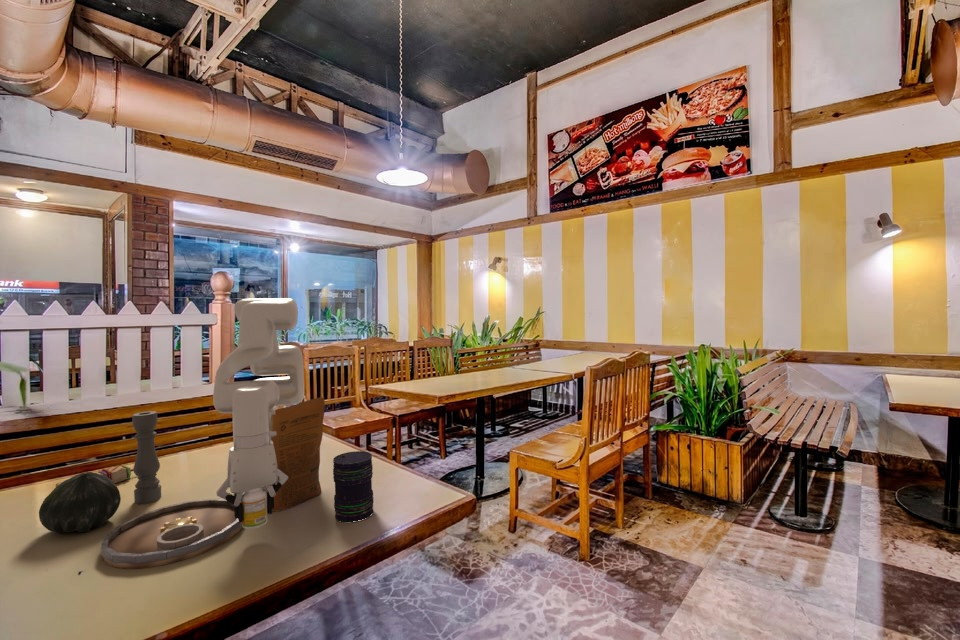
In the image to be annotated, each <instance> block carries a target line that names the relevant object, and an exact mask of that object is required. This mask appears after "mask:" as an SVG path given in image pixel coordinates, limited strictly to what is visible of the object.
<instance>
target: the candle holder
mask: <svg viewBox="0 0 960 640" xmlns="http://www.w3.org/2000/svg"><path fill="white" fill-rule="evenodd" d="M131 417H132V427H133V429H134V430H135V432H136V434H135V435H134V436H133V438H134V439H135V440H136V442H137V443H136V444H137V453H136V457H135V461H134V464H133V468H132V469H133V471H132V472H133V473H134V474H135V476H136V477H137V482H136V484H134V487H135V489H134V490H133V499H134V501H133V502H134V504H135V505H147V504H151V503H154V502H157V501H158V500H160V499H162V485H161V484H159V483H161V480H160V479H159V478H158V477H157V475H158V472H159V470H160V468H161V464H160V460H159V457H158V455H157V452H156V449H155V437H156V436H157V435H158V433H157V432H156V431H154V430H155V428H156V427H157V424H158V412H157V411H156V410H155V411H153V410H151V411H143V412H136V413H134V414H132V415H131Z"/></svg>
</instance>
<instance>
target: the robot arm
mask: <svg viewBox="0 0 960 640" xmlns="http://www.w3.org/2000/svg"><path fill="white" fill-rule="evenodd" d="M298 308H299V307H298V304H297V302H296V300H295V299H293V298H287V297H284V298H283V297H278V298H277V297H275V298H272V297H271V298H268V297H263V298H261V297H259V298H255V297H254V298H242V299H240V300H237V301H236V302H235V304H234V314H235V317H236V318H237V320H238V321H239V322H238V323H239V324H238V325H239V327H238V338H237V339H238V340H237V341H238V342H237V347H236V348H234V350H232V351H231V352H230V353H229V354H228V355H226V357H225V358H224V359H223V360H222V361H221V363H220V365H219V366H218V368H217V370H216V372H215V377H214V384H213V385H214V386H213V394H212V396H213V397H212V399H213V400H212V401H213V402H212V403H213V407H214V408H215V411H217V412H218V413H219V414H225V415H226V414H227V415H228V414H229V415H230V414H231V415H232V438H233V446H232V447H230V448H229V451H228V457H227V458H228V460H227V478H226V479H225V481H224V482H223V483H222V484H221V486H220V487H219V488H218V489H217V490H216V496H217V497H219V498H220V499H225V500H227V501H228V502H230V503H232V504H233V505H234V514H235V519H236V518H238V520H239V522H240V523H241V522H242V521H243V505H242V503H241V499H242V495H243V494H244V493H245V492H247V491H250V490H253V489H257V488H263V489H264V488H266V489H265V490H266V492H267V509H268V516H269V515H272V514H273V511H272V509H273V508H274V496H275V495H276V492H277V491H278V490H279V489H280V488H281V486H282V484H284V483H285V482H286V480H287V479H288V476H287V475H286V474H285V473H284V472H282V471H281V470H280V469H279V468H277V460H276V453H275V448H274V445H273V442H272V441H271V438H273V437H275V436H276V435H277V434H276V431H271V430H270V422H271V416H272V415H273V414H275V410H276V409H275V407H278V406H279V407H280V406H289V405H290V406H292V405H296V404H299V403H301V402H303V400H304V398H305V374H304V373H305V370H304V357H303V351H302V350H301V348H300V347H299V346H297V345H279V343H278V331H292V330H294V329H295V328H296V326H297V325H298V318H299V309H298ZM247 367H250V371H251V373H252V374H253V375H255V376H262V378H257V379H253V380H242V381H230V379H231V378H232V377H233V376H234V375H235V374H236V373H238V372H239V371H241V370H243V369H245V368H247ZM281 375H282V376H281ZM283 375H287V376H283ZM264 376H265V377H264ZM266 376H274V377H266ZM278 476H279V477H280V478H279V480H278ZM273 484H274V485H273ZM272 485H273V486H272ZM228 489H230V492H231V493H230V492H227V490H228Z"/></svg>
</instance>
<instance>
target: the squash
mask: <svg viewBox="0 0 960 640" xmlns="http://www.w3.org/2000/svg"><path fill="white" fill-rule="evenodd" d="M60 483H61V482H60ZM121 498H122V497H121V493H120V490H119V488H118V486H117V485H116V483H114V482H113V481H112V480H111V479H109V478H108V477H106V476H103V475H100V474H97V473H96V472H92V471H85V472H82V473H79V474H76V475H74V476H72V477H69V478H67V479H66V480H63V481H62V483H61V484H59V485H58V486H57V487H56V486H55V487H54V488H53V489H52V491H51V492H49V494H48V495H47V496H46V497H45V498H44V499H43V501H42V503H41V505H40V507H39V510H38V517H39V521H40V523H41V525H42V526H43V527H44V528H45V529H46V530H48V531H50V532H54V533H56V534H61V533H62V534H63V533H73V532H75V531H77V532H78V533H86V532H89V530H90V529H97V528H99V527H101V526H103V525H104V524H105V523H106V522H107V521H108V520H110V519H111V518H112V517H114V515H115V513H116V512H117V510H118V509H119V507H120V504H121V502H122V501H121V500H122V499H121Z"/></svg>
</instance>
